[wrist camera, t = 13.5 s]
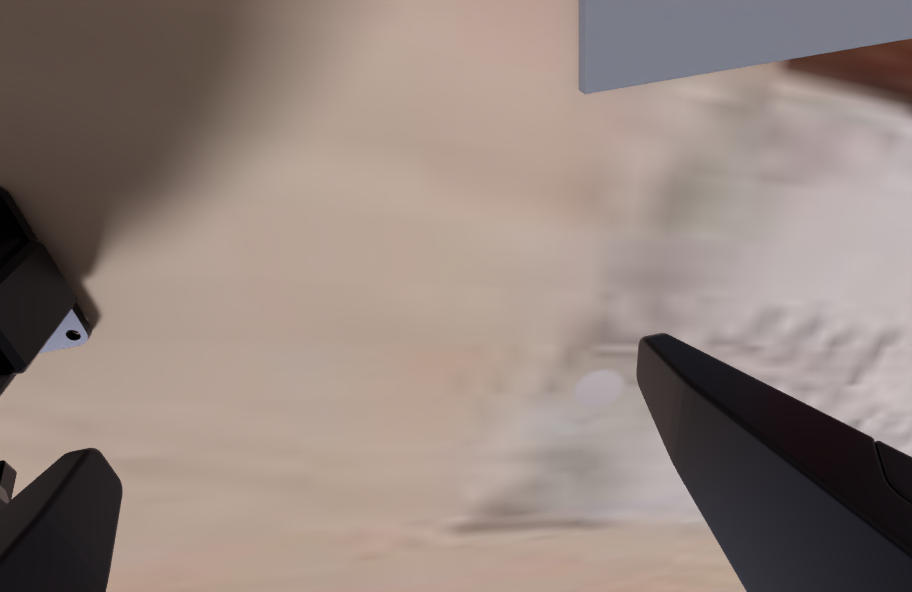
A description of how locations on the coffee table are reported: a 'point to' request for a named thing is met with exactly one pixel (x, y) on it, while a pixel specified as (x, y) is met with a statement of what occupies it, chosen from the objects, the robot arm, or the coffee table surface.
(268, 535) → the coffee table surface
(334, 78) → the coffee table surface
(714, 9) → the mat
